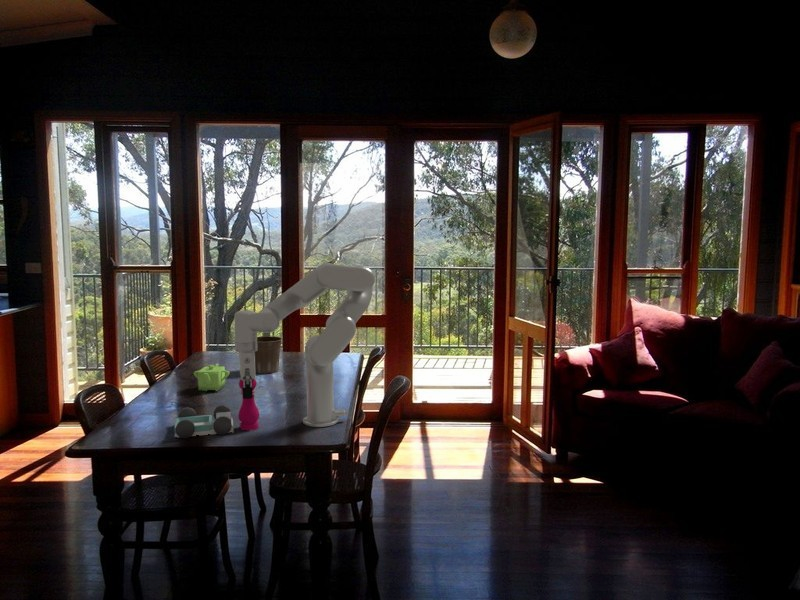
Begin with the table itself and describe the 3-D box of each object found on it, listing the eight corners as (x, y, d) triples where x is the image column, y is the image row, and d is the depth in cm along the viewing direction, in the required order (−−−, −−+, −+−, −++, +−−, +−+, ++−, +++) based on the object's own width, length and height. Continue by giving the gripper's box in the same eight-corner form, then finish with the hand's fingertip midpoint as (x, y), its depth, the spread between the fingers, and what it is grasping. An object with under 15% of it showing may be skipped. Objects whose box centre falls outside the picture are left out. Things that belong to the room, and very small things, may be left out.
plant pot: (287, 367, 314) (286, 336, 313) (277, 375, 298) (276, 341, 297) (255, 367, 316) (254, 335, 314) (244, 374, 300) (243, 341, 298)
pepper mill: (240, 432, 216) (238, 375, 214) (237, 426, 223) (235, 370, 220) (261, 429, 219) (259, 373, 217) (257, 423, 226) (255, 368, 223)
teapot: (205, 395, 264) (204, 370, 262) (188, 390, 272) (186, 366, 271) (236, 388, 275) (235, 364, 274) (218, 383, 284) (217, 360, 283)
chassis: (232, 419, 230) (231, 403, 229) (233, 433, 214) (232, 416, 214) (177, 424, 225) (176, 408, 224) (174, 439, 209) (173, 421, 209)
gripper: (258, 350, 210) (259, 400, 212) (255, 341, 227) (256, 388, 229) (235, 351, 208) (236, 402, 210) (234, 342, 225) (235, 389, 227)
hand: (247, 394), depth 219 cm, fingers open, 9 cm apart
